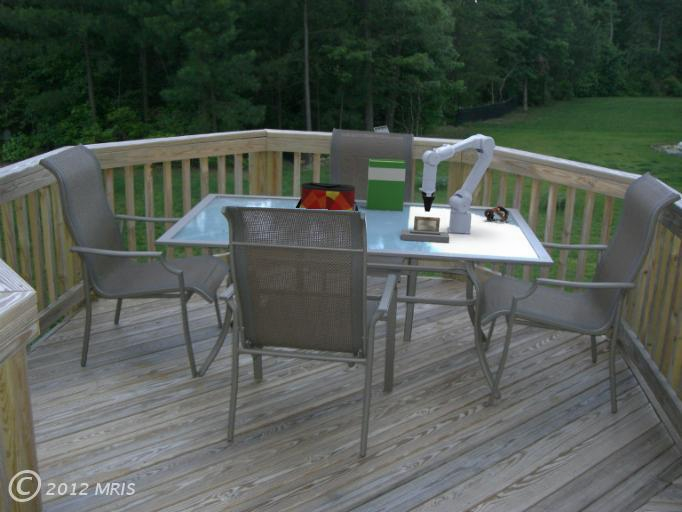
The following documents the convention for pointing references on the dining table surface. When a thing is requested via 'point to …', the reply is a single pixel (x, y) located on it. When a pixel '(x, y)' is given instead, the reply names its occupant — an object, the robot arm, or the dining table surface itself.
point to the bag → (327, 196)
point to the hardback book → (386, 184)
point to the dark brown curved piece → (490, 213)
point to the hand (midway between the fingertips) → (426, 209)
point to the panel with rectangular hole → (425, 236)
